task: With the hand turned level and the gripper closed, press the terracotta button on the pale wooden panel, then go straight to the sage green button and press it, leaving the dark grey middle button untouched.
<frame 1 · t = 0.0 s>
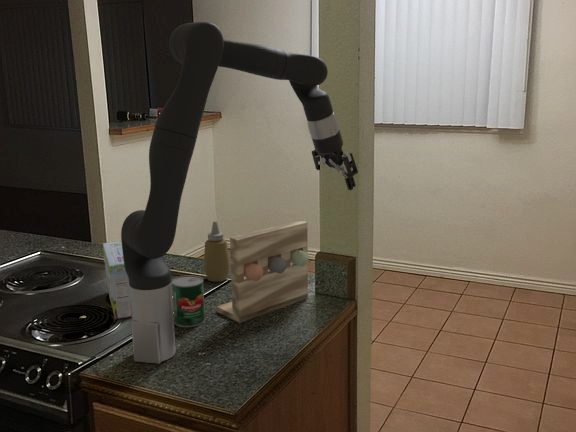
hand: (341, 186, 170), 31 cm above the worktop, tool tilted 20°, fingers open, 8 cm apart
grey button: (275, 264, 165), point 13 cm above the worktop, slide at 0.0 cm
terracotta button: (252, 271, 160), point 13 cm above the worktop, slide at 0.0 cm
button panel: (275, 310, 168), on the worktop
sage button: (298, 257, 170), point 13 cm above the worktop, slide at 0.0 cm
snack box: (120, 304, 174), on the worktop
canned tomato: (189, 321, 162), on the worktop
squeeze bottle: (217, 279, 192), on the worktop
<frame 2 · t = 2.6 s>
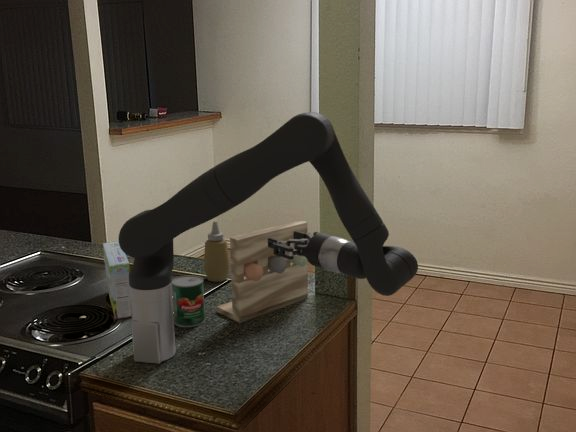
hand: (281, 238, 149), 24 cm above the worktop, tool horizontal, fingers open, 7 cm apart
nothing on the worktop moved.
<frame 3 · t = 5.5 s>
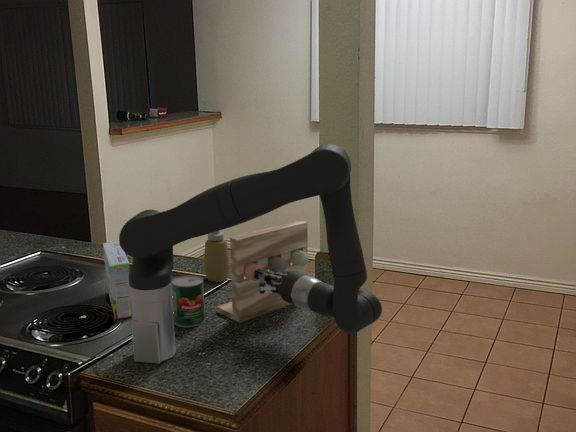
hand: (256, 273, 158), 13 cm above the worktop, tool horizontal, fingers closed
terracotta button: (251, 271, 160), point 13 cm above the worktop, slide at 0.2 cm, touching gripper
everything else where it was.
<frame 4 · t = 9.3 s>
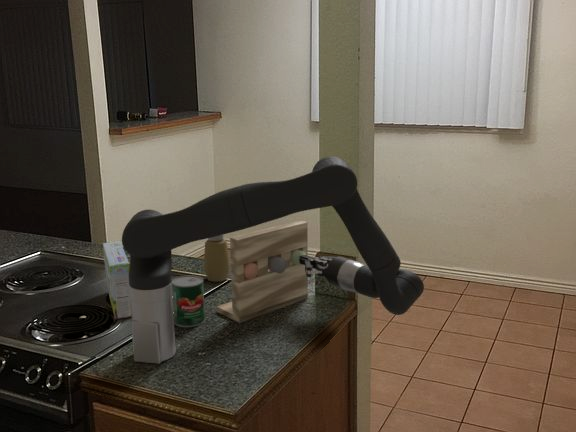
hand: (301, 258, 169), 13 cm above the worktop, tool horizontal, fingers closed
terracotta button: (247, 269, 161), point 13 cm above the worktop, slide at 1.9 cm
sage button: (296, 256, 171), point 13 cm above the worktop, slide at 0.8 cm, touching gripper
everything else where it was.
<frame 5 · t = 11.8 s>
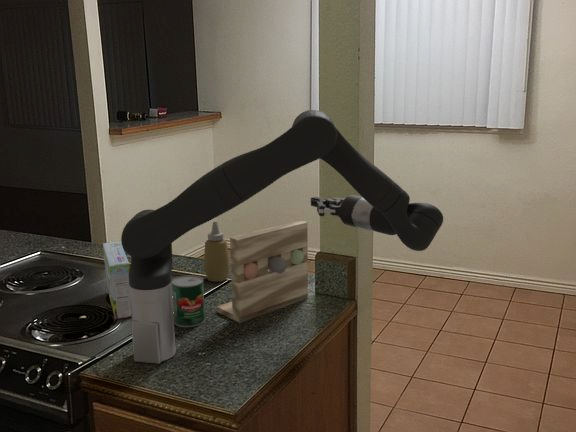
hand: (312, 201, 162), 30 cm above the worktop, tool horizontal, fingers closed
sage button: (293, 256, 171), point 13 cm above the worktop, slide at 1.9 cm
everything else where it was.
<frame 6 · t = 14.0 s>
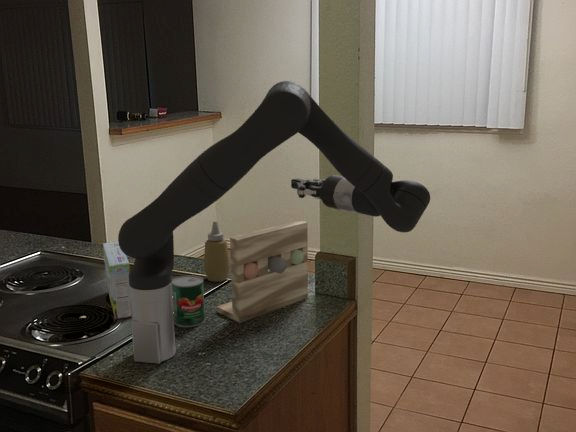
hand: (293, 183, 152), 36 cm above the worktop, tool horizontal, fingers closed
nothing on the worktop moved.
at the end: terracotta button slide at 1.9 cm; sage button slide at 1.9 cm; grey button slide at 0.0 cm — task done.
